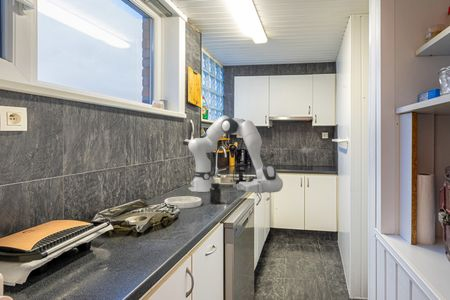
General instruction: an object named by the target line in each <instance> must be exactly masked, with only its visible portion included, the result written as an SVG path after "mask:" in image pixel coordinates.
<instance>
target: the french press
mask: <svg viewBox="0 0 450 300" xmlns="http://www.w3.org/2000/svg"><path fill="white" fill-rule="evenodd" d="M238 158H239V159H240V160H242V158H244V157H243V156H239V157H238ZM246 165H247V164H246V163H235V168H244V167H246ZM232 171H233V174H232V175H233V182H235V184H239V182H247V175H245V176H244V173H247V169H233V170H232ZM235 173H238V175H235ZM237 178H238V179H237Z"/></svg>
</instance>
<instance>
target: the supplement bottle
mask: <svg viewBox="0 0 450 300" xmlns="http://www.w3.org/2000/svg"><path fill="white" fill-rule="evenodd" d="M221 203H222V189H221V188H220V183H219V182H213V183H211V188H210V191H209V204H211V205H219V204H220V205H221Z"/></svg>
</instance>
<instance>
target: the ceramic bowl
mask: <svg viewBox="0 0 450 300" xmlns="http://www.w3.org/2000/svg"><path fill="white" fill-rule="evenodd" d="M164 203H166V204H170V205H177V206H179V208H178V209H181V210H183V209H191V208H198V207H201V205H202V204H203V203H202V198H201V197H198V196H192V195H191V196H190V195H189V196H188V195H185V196H172V197H168V198H165V199H164Z"/></svg>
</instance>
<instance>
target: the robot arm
mask: <svg viewBox="0 0 450 300" xmlns="http://www.w3.org/2000/svg"><path fill="white" fill-rule="evenodd" d="M205 134H206V135H205V136H204V137H195V138H192V139H190V140H189V141H188V143H187V144H188V145H187V147H188V150H189V152H191V154H192V155H193V158H194V163H195V172H194V177H193V179H192V180H191V182H190V187H188V190H189V191H190V192H192V193H193V192H194V193H196V192H197V193H199V192H200V193H201V192H203V193H206V192H210V188H211V183H214V179H213V177H212V170H211V167H212V166H211V165H212V164H211V163H212V162H211V160H210V159H209V157H208V156H207V154H208V153H213V152H214V151H216V150H217V148H218V142H219V141H220V139H221V138H222V137H223V136H224V135H225V134H227V135H236V136H237V135H240V136H241V137H242V140H243V142H244V145H245V146H246V150H247V152H248V155H249V157H250V161H251V163H252V166H253V169H254V172H255V175H254V176H255V178H253V180H252V181H246V182H239V184H236V183H235V184H233V185H232V186H233V188H236V189H237V191H245V192H247V193H254V194H264V193H269V194H270V193H271V194H273V193H278V192H280V191H282V189H283V185H284V182H283V179H282V178H281V177H280V175H279V174H278V172H277V169H276V167H275V165H274V164H272V163H268V162H267V163H264V164H263V161H262V158H261V154H260V153H261V148H262V144H263V141H262V137H261V134H260V132H259V131H258V128H257V127H256V125H255V124H254V122H253V121H252V120H245V119H243V118H237V117H235V118H234V117H233V118H231V117H229V116H228V115H221V116H220V117H219V118H216V120H215V121H214V122H213V123H212V124H211V125H210V126H209V127H208V129H206V133H205Z"/></svg>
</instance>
